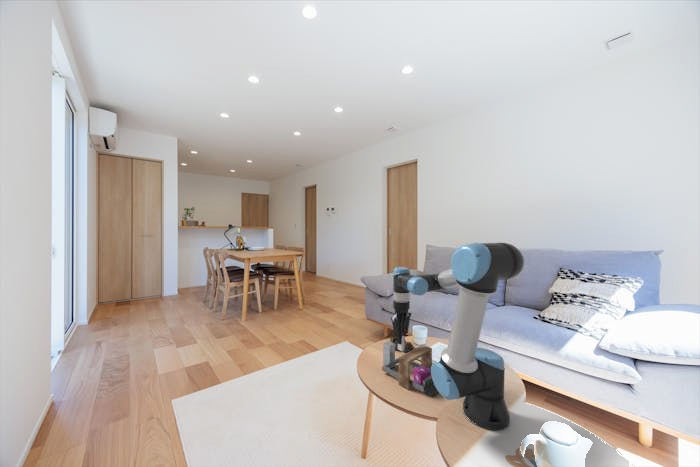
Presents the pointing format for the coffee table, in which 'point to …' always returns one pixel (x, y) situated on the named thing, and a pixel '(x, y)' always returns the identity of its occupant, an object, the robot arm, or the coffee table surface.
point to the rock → (407, 345)
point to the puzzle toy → (421, 374)
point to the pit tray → (432, 391)
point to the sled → (390, 362)
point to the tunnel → (410, 357)
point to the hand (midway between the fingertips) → (401, 349)
